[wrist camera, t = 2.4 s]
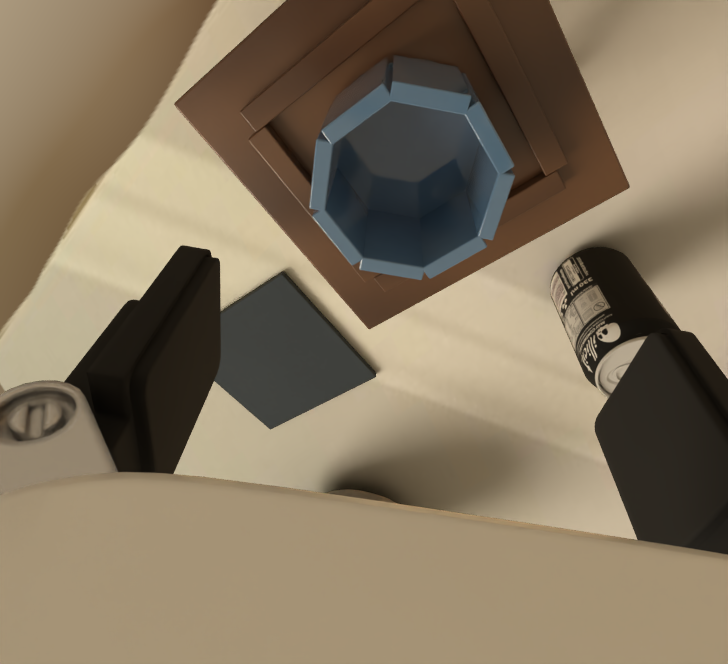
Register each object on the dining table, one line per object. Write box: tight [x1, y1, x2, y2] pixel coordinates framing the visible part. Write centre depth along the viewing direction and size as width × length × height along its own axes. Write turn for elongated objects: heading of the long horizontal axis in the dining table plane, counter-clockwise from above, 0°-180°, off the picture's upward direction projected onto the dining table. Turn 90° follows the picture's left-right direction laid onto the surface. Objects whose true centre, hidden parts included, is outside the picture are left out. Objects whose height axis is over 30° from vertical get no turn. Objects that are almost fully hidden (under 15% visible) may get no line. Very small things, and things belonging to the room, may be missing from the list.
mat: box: [214, 272, 376, 429], centre depth 50 cm, size 14×14×1 cm
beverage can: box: [550, 247, 680, 398], centre depth 38 cm, size 7×7×12 cm
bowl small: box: [309, 55, 515, 280], centre depth 20 cm, size 7×7×5 cm
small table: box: [174, 0, 629, 329], centre depth 28 cm, size 14×14×17 cm
